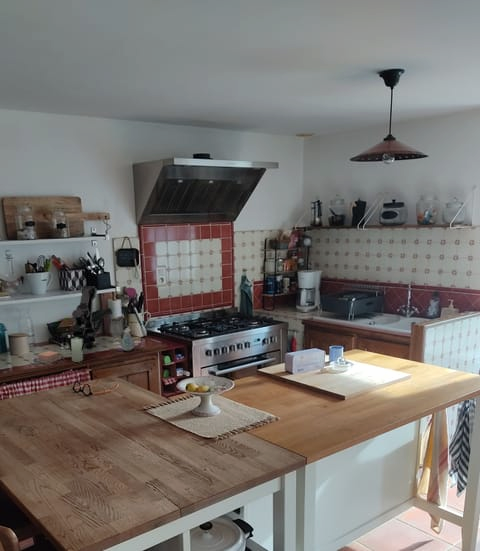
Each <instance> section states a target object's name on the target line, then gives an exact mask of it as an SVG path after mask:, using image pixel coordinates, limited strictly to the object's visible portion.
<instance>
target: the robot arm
mask: <svg viewBox="0 0 480 551" xmlns="http://www.w3.org/2000/svg"><path fill="white" fill-rule="evenodd" d="M97 292H98V289H97V288H96V287H95V286H84V287H82V288H81V296H80V302H79V305H77V307H76V309H75V310H73V311H72V313H71V316H72V318H73V320H74V322H75V325H72V327H71V332H72V335H70V334H69V333H62V334H60V340H61V341H62V343H67V344H68V346H69V350H70V351H69V352H72V349H71V339H72V338H75V337H79V338H82V351H84V350H85V349H92V348H94V347H96V344H94V342H96V341H97V338H96V337H97V332H96V330H95V327H94V325H93V322H92V320H93V319H92V317H93V316H92V315H93V302H94V299H95V298H96V296H97V295H96V294H97Z"/></svg>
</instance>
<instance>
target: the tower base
mask: <svg viewBox="0 0 480 551" xmlns="http://www.w3.org/2000/svg"><path fill="white" fill-rule="evenodd" d="M63 358H65V357H64V356H63V355H60V352H57V351H53V350H48V351H45V352H41V353H39V354H37V357H34V358H33V360H32V362H33V363H37V362H39V363H38V364H42V363H47V364H48V363H51V362H54V361H57V360H60V359H63ZM63 360H64V359H63ZM60 361H61V360H60ZM57 362H58V361H57ZM54 363H55V362H54ZM47 364H46V365H47ZM51 364H52V363H51Z"/></svg>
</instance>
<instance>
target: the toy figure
mask: <svg viewBox="0 0 480 551" xmlns="http://www.w3.org/2000/svg"><path fill="white" fill-rule="evenodd" d="M131 331H132V330H131V329H130V328H129V327H128V328H126V330H124V333H125V334H124V337H123V339H114V340H113V339H112V345H114V346H120V348H121V349H122V350H123V351H125V352H129V351H132V350H133V349H134V347H135V346H134V345H138V344H141V343H142V341H141V340H142V339H141V337H138V336H137V337H132V336H131V333H130V332H131ZM113 342H114V343H113ZM120 342H122V344H121V343H120Z"/></svg>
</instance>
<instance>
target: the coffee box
mask: <svg viewBox="0 0 480 551" xmlns="http://www.w3.org/2000/svg"><path fill="white" fill-rule="evenodd" d="M126 328H128V329H129V326H128V317H127V316H117V317H114V318H112V319H111V329H112V331H111V332H112V344H113V343H114V342H113V340H114V339H123V337H124V334H125V333H124V330H126ZM120 343H121V344H122V342H120Z"/></svg>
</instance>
